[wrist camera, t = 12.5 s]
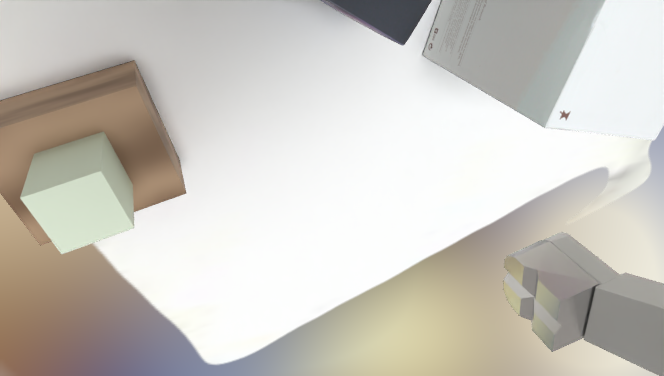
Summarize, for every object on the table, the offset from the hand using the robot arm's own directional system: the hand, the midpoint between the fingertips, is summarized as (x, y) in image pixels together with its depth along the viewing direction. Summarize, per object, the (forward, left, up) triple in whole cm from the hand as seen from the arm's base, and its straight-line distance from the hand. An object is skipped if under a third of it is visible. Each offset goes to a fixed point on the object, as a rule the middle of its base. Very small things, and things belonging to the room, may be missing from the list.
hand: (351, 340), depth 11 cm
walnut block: (+8, -11, -35) cm, 38 cm away
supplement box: (+6, +30, -35) cm, 47 cm away
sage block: (+8, -11, -29) cm, 32 cm away
